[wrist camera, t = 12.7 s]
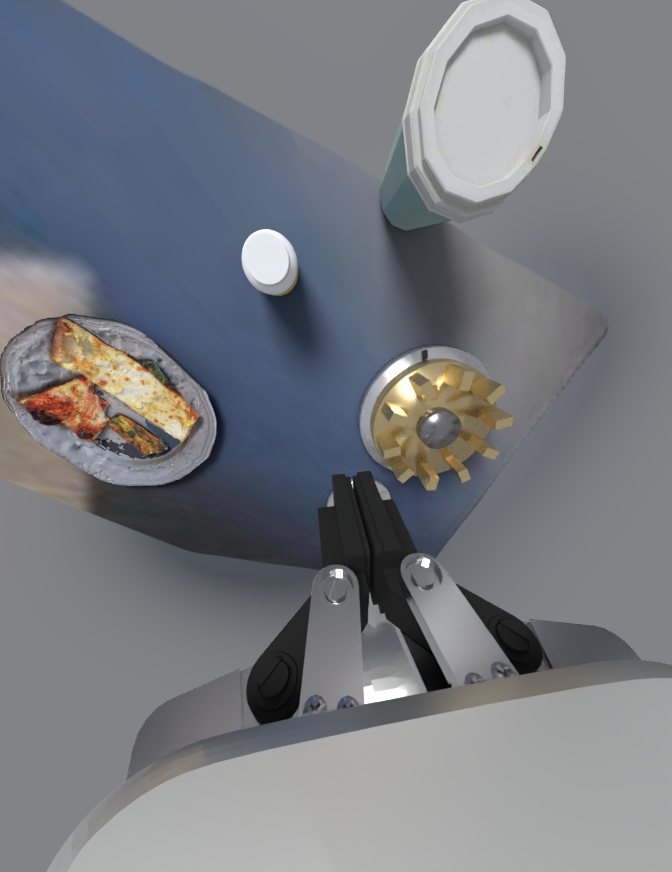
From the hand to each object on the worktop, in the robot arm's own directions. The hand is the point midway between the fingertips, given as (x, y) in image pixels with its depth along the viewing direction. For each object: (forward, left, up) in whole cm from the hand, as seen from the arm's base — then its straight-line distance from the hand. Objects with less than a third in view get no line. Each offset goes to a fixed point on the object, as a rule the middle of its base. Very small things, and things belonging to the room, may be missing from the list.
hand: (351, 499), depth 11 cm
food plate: (-5, +28, -30) cm, 41 cm away
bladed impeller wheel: (-10, -17, -27) cm, 33 cm away
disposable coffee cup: (+18, -12, -29) cm, 36 cm away
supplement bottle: (+11, +4, -29) cm, 32 cm away
